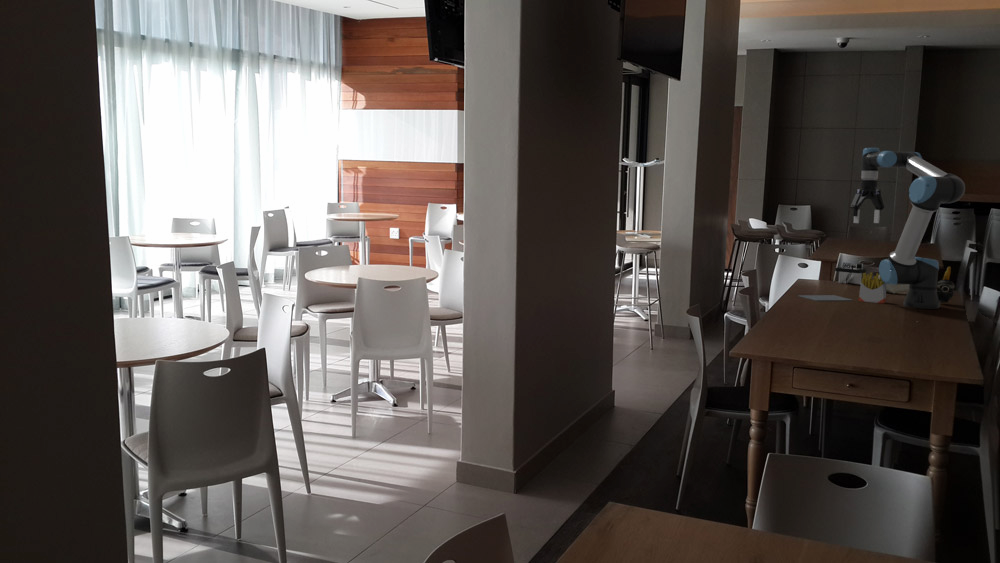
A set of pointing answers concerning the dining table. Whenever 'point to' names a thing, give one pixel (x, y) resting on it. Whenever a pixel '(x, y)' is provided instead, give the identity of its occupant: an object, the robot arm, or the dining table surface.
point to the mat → (825, 298)
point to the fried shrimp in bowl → (945, 287)
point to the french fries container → (872, 289)
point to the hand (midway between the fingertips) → (866, 223)
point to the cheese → (896, 288)
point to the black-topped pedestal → (850, 273)
